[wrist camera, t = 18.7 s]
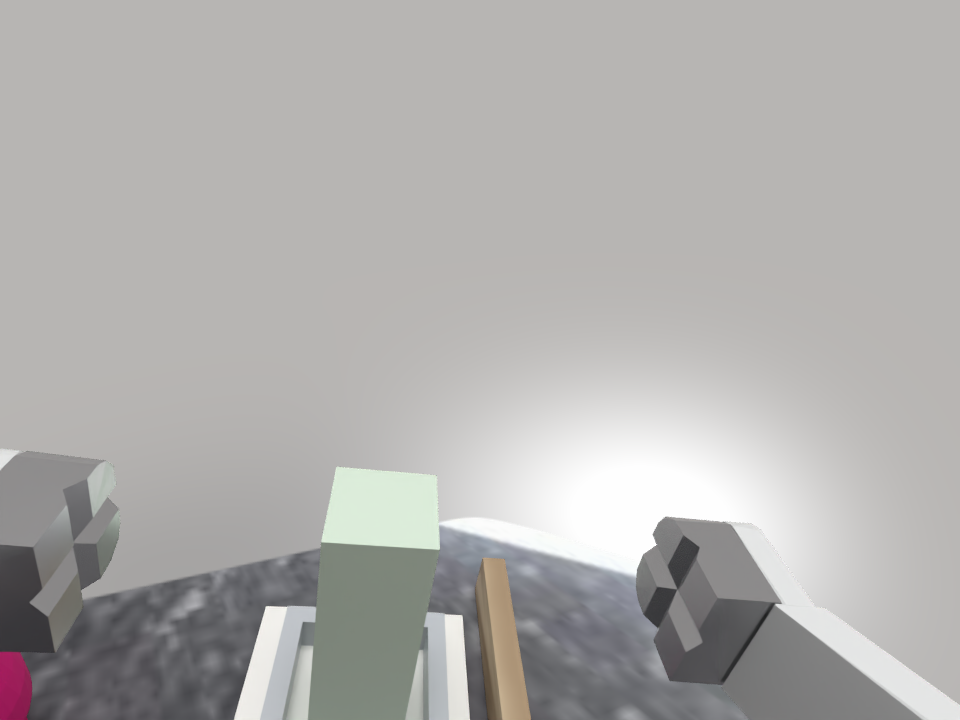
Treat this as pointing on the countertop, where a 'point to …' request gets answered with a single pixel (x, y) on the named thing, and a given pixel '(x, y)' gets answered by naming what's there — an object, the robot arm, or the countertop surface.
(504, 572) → the oak board
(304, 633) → the grey keeper socket
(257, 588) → the countertop surface
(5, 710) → the pepper mill
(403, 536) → the sage bar
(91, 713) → the countertop surface
